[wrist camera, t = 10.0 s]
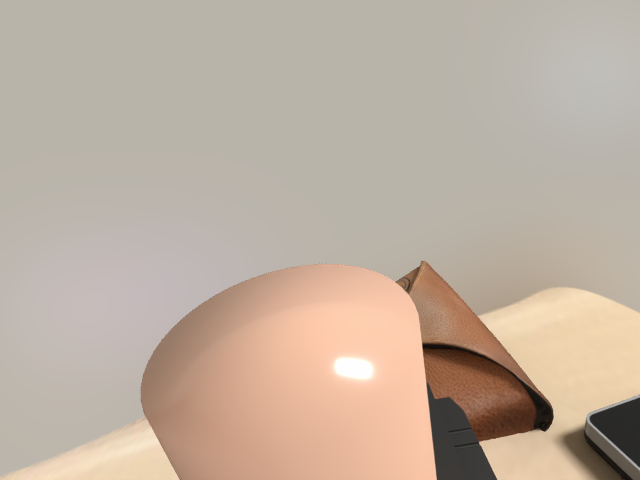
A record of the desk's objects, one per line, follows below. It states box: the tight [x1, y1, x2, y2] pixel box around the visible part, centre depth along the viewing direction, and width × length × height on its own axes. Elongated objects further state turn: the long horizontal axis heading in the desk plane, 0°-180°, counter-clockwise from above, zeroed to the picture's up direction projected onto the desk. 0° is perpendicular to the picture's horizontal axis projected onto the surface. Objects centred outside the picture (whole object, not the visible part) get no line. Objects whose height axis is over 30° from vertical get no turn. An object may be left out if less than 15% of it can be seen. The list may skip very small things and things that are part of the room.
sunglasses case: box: [396, 261, 554, 442], centre depth 28 cm, size 18×7×7 cm
